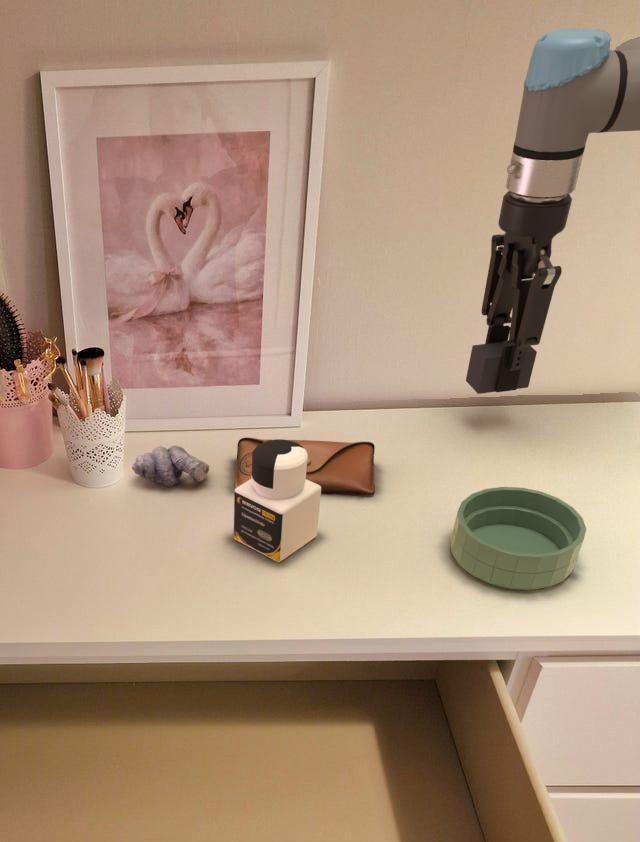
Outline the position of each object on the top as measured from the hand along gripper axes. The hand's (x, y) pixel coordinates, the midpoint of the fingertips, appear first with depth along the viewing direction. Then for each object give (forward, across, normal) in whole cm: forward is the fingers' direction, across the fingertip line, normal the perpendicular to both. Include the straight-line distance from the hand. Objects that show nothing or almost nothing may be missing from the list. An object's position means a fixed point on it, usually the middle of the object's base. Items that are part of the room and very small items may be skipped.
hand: (497, 381), depth 116 cm
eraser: (0, 0, 0) cm, 0 cm away
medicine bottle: (+6, +20, -35) cm, 41 cm away
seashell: (+6, +5, -45) cm, 46 cm away
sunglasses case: (+6, +8, -28) cm, 30 cm away
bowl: (+6, +29, -10) cm, 31 cm away
